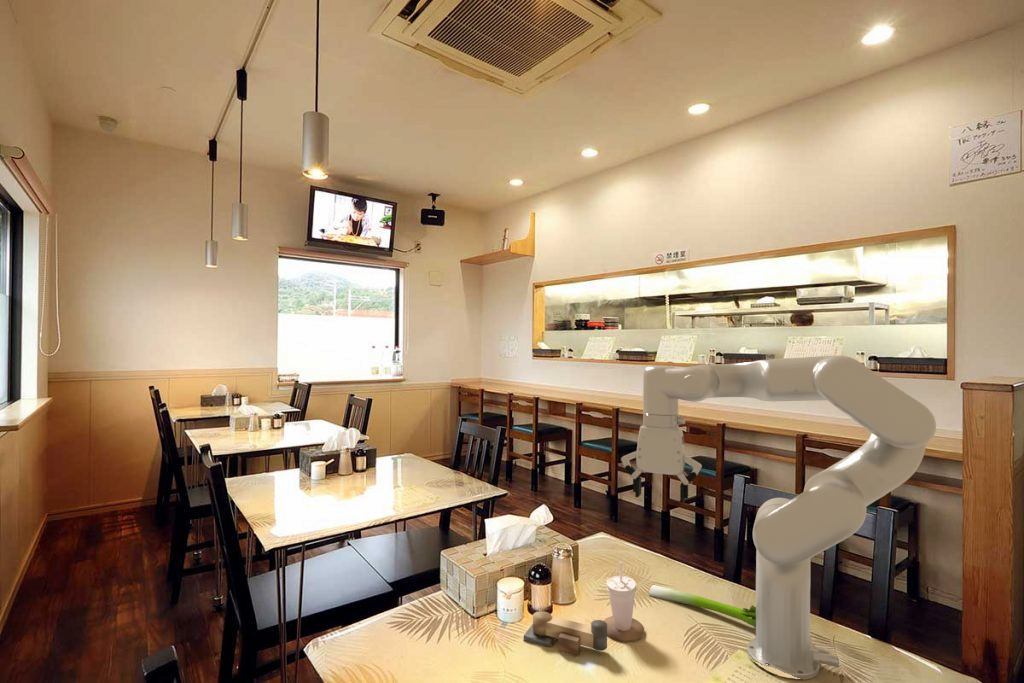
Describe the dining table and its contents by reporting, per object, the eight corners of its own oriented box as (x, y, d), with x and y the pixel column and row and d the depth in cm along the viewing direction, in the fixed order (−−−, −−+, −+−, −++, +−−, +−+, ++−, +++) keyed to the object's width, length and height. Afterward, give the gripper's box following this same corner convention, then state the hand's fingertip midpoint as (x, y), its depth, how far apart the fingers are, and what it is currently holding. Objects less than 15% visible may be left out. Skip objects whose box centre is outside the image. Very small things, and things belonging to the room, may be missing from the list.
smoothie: (635, 616, 115) (633, 556, 114) (639, 635, 108) (637, 571, 107) (606, 616, 115) (604, 556, 114) (609, 634, 109) (606, 571, 108)
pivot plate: (560, 632, 111) (560, 628, 111) (550, 647, 105) (550, 642, 105) (534, 626, 113) (534, 621, 113) (523, 640, 108) (523, 635, 108)
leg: (529, 632, 108) (529, 611, 108) (537, 623, 112) (537, 603, 112) (603, 653, 101) (604, 631, 101) (609, 642, 105) (609, 621, 105)
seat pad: (647, 624, 114) (647, 621, 114) (639, 646, 106) (639, 642, 106) (607, 615, 118) (607, 612, 118) (597, 635, 110) (597, 631, 110)
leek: (659, 596, 131) (787, 631, 111) (646, 610, 126) (778, 649, 106) (656, 573, 131) (783, 603, 111) (643, 586, 126) (775, 621, 106)
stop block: (580, 651, 104) (580, 636, 104) (577, 656, 102) (577, 641, 102) (561, 646, 106) (561, 631, 106) (558, 651, 104) (558, 636, 104)
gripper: (703, 422, 114) (703, 499, 113) (625, 416, 121) (625, 489, 121) (700, 426, 107) (699, 508, 107) (617, 420, 114) (617, 497, 114)
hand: (660, 498), depth 114 cm, fingers open, 9 cm apart
